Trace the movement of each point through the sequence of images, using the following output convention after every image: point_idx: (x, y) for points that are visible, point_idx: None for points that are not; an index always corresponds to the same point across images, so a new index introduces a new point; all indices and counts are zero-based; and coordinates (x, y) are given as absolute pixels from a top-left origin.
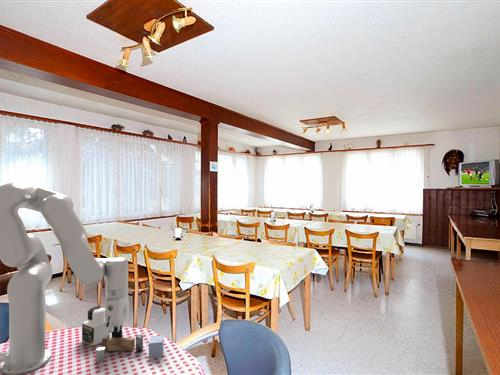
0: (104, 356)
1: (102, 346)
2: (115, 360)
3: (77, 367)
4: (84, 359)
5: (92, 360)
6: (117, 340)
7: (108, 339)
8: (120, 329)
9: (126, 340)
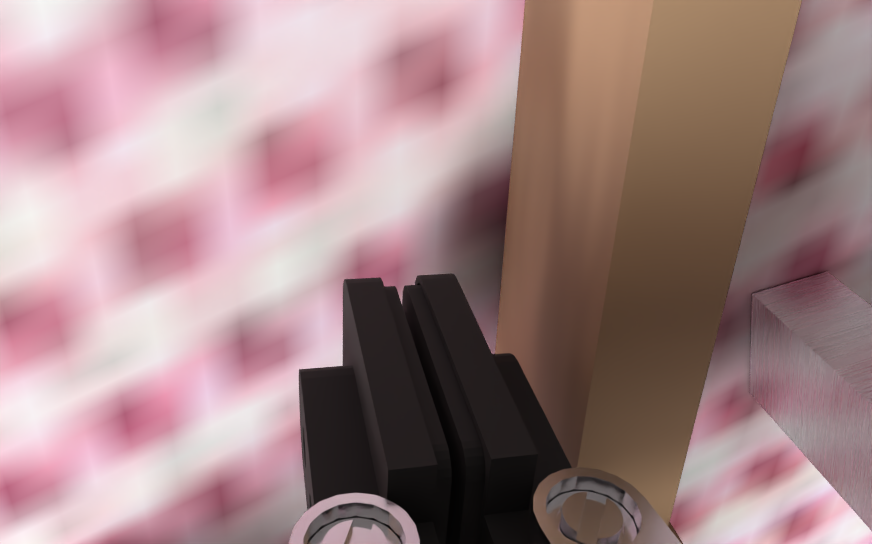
0: (853, 313)
1: None
2: (861, 92)
3: None
4: (703, 532)
5: (754, 433)
6: (709, 320)
7: None
8: (352, 523)
9: (768, 69)
